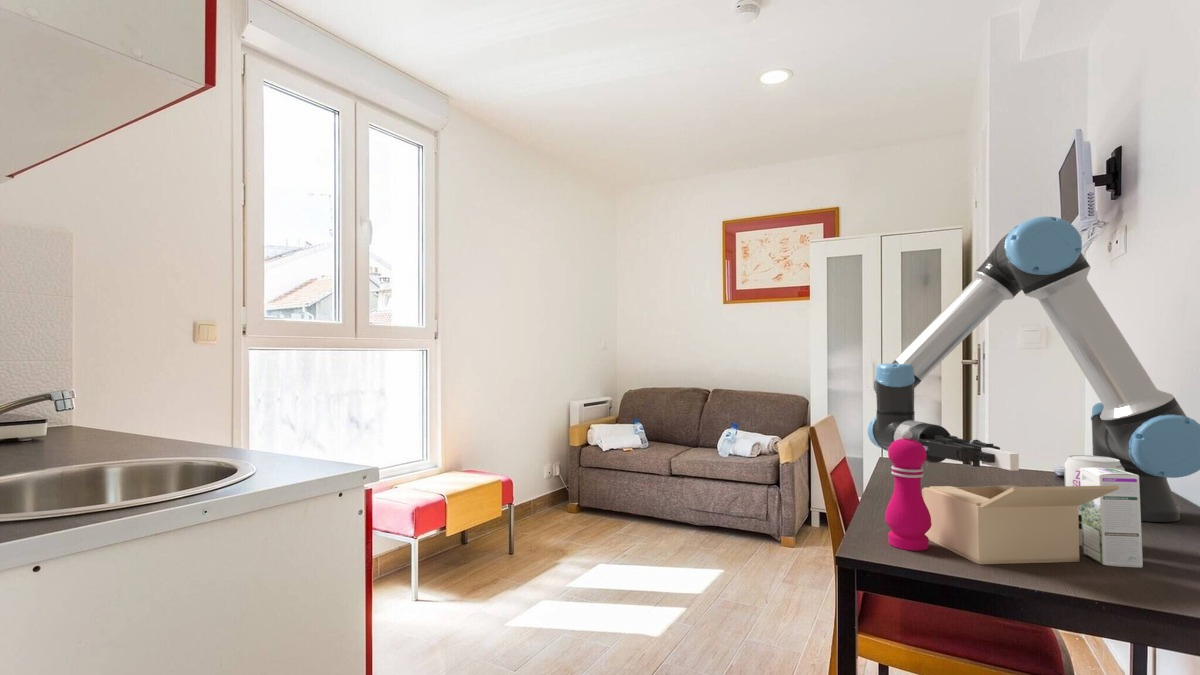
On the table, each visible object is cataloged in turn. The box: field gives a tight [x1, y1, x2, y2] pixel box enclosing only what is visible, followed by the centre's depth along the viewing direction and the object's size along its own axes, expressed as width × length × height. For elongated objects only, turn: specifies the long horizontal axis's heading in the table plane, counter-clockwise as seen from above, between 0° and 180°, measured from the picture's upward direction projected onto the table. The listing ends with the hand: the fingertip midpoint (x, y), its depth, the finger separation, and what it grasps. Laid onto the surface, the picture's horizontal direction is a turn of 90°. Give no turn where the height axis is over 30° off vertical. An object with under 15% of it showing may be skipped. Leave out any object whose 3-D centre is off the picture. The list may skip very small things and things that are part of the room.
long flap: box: [980, 485, 1119, 508], centre depth 92 cm, size 17×1×8 cm
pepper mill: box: [884, 430, 932, 552], centre depth 105 cm, size 7×7×20 cm
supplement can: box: [1064, 454, 1125, 548], centre depth 105 cm, size 8×8×15 cm
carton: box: [921, 484, 1080, 565], centre depth 103 cm, size 17×15×9 cm
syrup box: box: [1080, 467, 1144, 569], centre depth 97 cm, size 6×6×14 cm
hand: (1014, 462), depth 98 cm, fingers closed
